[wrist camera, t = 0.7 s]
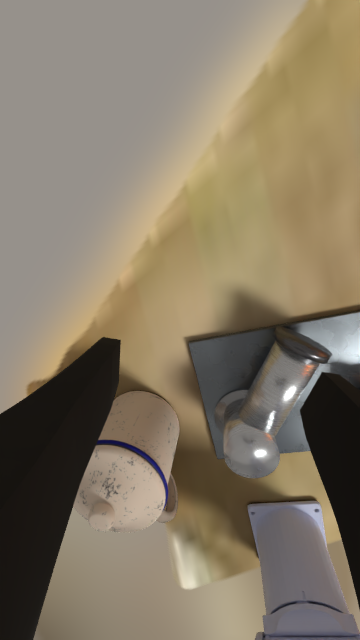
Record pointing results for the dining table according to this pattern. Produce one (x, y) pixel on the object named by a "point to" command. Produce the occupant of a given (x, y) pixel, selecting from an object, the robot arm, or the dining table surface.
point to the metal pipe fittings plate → (249, 355)
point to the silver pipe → (269, 403)
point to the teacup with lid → (132, 466)
